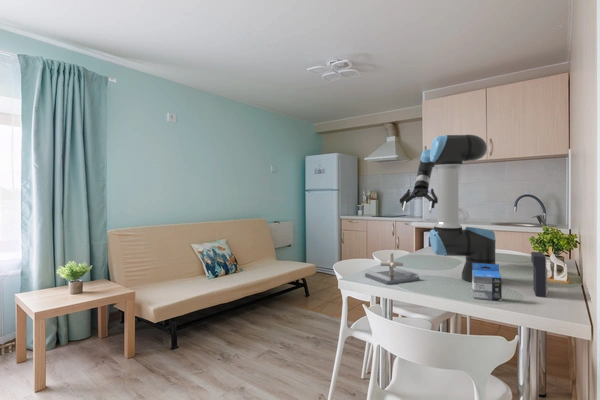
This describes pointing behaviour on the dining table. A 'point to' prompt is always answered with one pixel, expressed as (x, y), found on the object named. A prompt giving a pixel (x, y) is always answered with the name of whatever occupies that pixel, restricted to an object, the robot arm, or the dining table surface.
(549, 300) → the dining table surface
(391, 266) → the pipe connector
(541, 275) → the calculator
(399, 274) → the plate
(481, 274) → the ink cartridge box
